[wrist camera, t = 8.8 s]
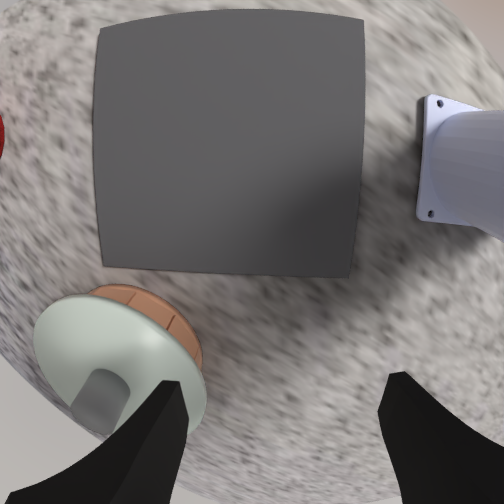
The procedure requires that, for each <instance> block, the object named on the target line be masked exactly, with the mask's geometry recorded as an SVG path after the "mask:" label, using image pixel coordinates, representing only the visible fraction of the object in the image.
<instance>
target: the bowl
mask: <svg viewBox="0 0 504 504" xmlns="http://www.w3.org/2000/svg"><path fill="white" fill-rule="evenodd" d="M87 294H90V295H97V296H102V297H106V298H110V299H113V300H116V301H118V302H121V303H124V304H126V305H128V306H130V307H132V308H134V309H136V310H138V311H140V312H142V313H143V314H145V315H147V316H148V317H150V318H152V319H153V320H154V321H156V322H157V323H158V324H160V325H161V326H162V327H164V328H165V329H166V330H167V331H168V332H170V333H171V334H172V335H173V336H174V337H175V338H176V339H177V340H178V341H179V342H180V343H181V344H182V345H183V346H184V347H185V348H186V350H187V351H188V352H189V354H190V355H191V356H192V358H193V359H194V360H195V362H196V364H197V366H198V367H199V369H200V371H201V368H202V362H203V355H202V349H201V345H200V342H199V339H198V337H197V335H196V333H195V331H194V330H193V328H192V326H191V325H190V323H189V322H188V321H187V320H186V319H185V317H184V316H183V315H182V314H181V313H180V312H179V311H178V310H177V309H176V308H174V307H173V306H172V305H171V304H170V303H168V302H167V301H165V300H164V299H162V298H161V297H159V296H157V295H155V294H153V293H152V292H149V291H147V290H144V289H142V288H139V287H135V286H132V285H125V284H108V285H103V286H100V287H97V288H95V289H93V290H91V291H90V292H89V293H87ZM201 373H202V372H201Z"/></svg>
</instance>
